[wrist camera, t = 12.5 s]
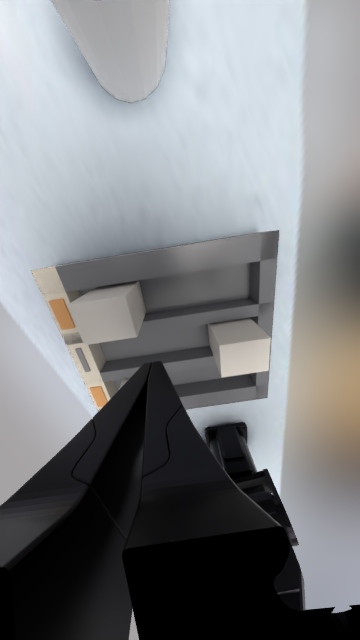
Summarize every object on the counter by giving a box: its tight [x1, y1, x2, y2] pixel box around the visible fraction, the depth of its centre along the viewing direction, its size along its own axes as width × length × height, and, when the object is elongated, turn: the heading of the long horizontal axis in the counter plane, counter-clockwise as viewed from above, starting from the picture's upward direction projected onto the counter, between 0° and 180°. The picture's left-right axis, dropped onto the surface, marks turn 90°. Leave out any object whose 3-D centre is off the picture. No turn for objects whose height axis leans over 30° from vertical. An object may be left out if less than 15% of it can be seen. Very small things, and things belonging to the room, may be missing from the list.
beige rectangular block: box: [208, 317, 271, 377], centre depth 17 cm, size 3×4×5 cm
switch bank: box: [31, 230, 279, 412], centre depth 19 cm, size 18×20×4 cm
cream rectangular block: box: [67, 280, 146, 345], centre depth 15 cm, size 3×4×5 cm
